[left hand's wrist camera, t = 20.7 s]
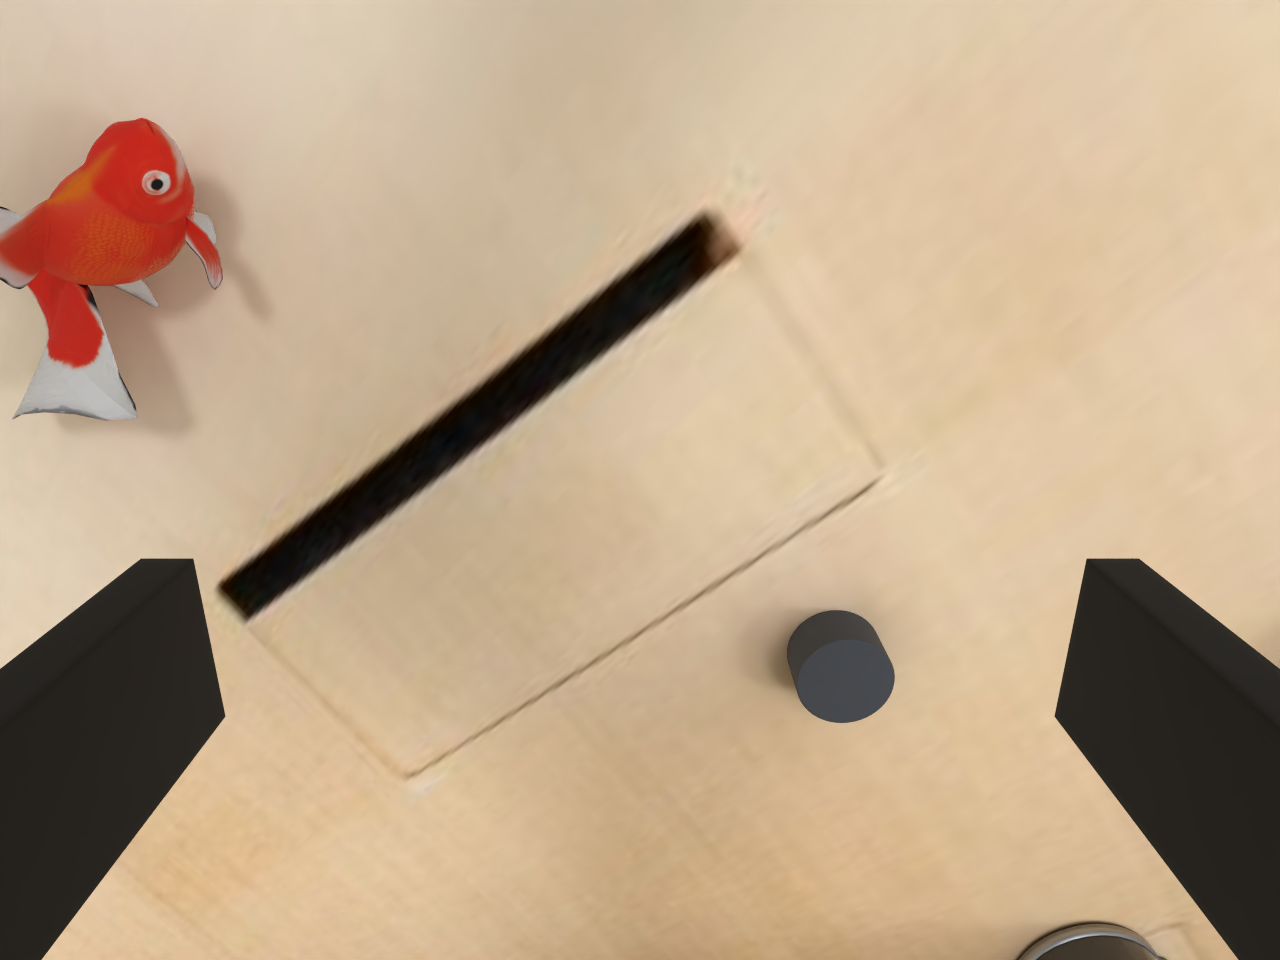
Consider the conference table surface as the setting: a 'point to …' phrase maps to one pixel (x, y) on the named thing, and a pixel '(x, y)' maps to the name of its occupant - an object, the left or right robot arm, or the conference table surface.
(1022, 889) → the conference table surface
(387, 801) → the conference table surface
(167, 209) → the fish
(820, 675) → the puck
